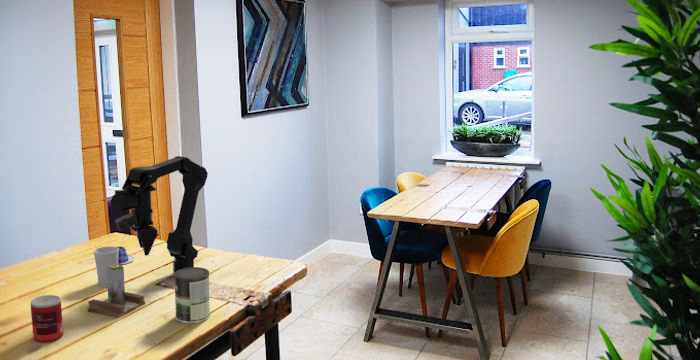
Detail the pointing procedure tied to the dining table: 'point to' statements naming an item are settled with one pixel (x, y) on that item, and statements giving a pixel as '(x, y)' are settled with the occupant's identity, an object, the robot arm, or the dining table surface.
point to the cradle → (117, 305)
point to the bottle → (116, 284)
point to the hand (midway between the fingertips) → (144, 251)
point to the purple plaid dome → (124, 256)
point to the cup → (105, 262)
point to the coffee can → (192, 295)
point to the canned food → (46, 318)
